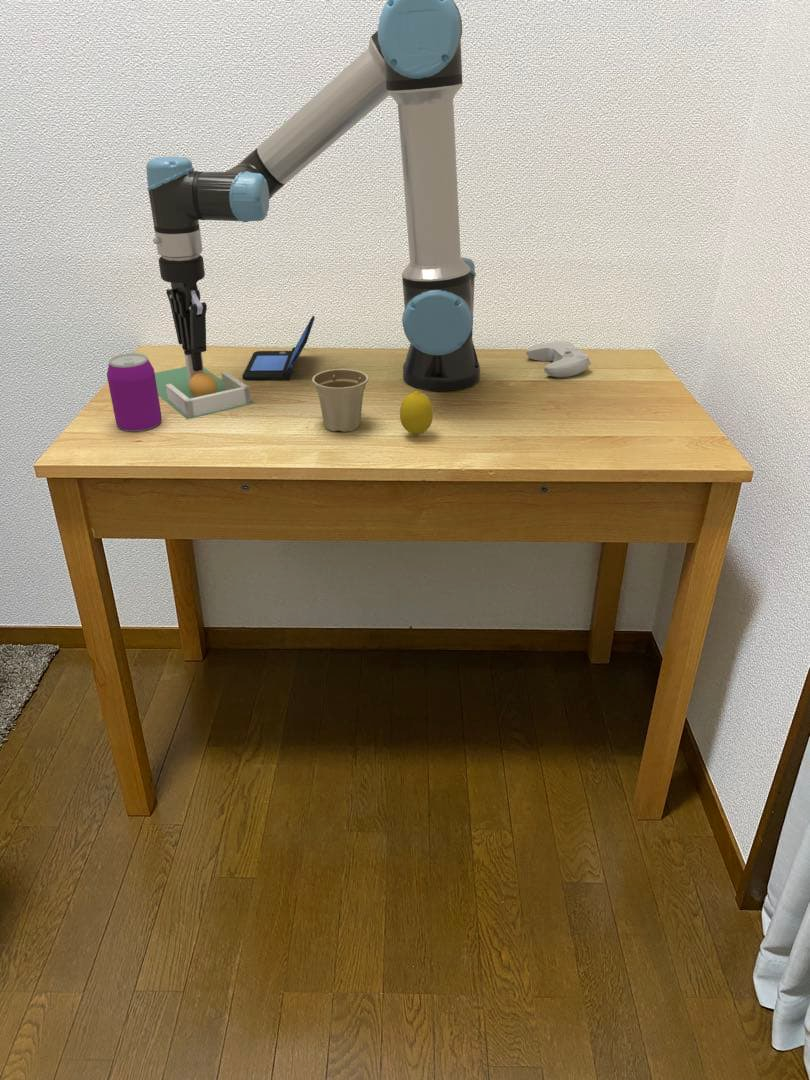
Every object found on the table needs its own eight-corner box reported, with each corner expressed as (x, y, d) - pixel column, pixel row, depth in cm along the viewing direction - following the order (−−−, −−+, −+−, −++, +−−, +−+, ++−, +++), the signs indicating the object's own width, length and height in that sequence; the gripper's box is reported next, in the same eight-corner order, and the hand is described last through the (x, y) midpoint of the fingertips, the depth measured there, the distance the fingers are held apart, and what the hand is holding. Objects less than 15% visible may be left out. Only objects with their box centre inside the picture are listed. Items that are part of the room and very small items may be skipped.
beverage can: (115, 420, 150) (102, 354, 144) (160, 414, 152) (149, 349, 146) (119, 437, 144) (105, 369, 137) (165, 430, 146) (154, 363, 140)
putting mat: (254, 405, 156) (254, 403, 155) (187, 421, 149) (187, 419, 149) (199, 365, 174) (198, 363, 174) (137, 378, 168) (136, 376, 167)
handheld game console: (254, 357, 179) (250, 313, 174) (318, 357, 179) (315, 313, 174) (241, 384, 166) (236, 337, 161) (309, 384, 166) (306, 337, 161)
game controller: (521, 344, 176) (566, 330, 177) (524, 363, 179) (568, 350, 179) (548, 367, 164) (596, 352, 165) (550, 387, 167) (598, 373, 168)
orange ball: (217, 369, 154) (208, 370, 159) (191, 374, 152) (182, 375, 156) (223, 396, 156) (214, 397, 160) (198, 402, 153) (189, 402, 157)
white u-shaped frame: (251, 403, 155) (249, 387, 154) (188, 417, 150) (186, 401, 148) (228, 386, 163) (226, 371, 161) (168, 400, 157) (165, 384, 155)
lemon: (433, 429, 146) (434, 385, 142) (431, 443, 141) (432, 398, 137) (401, 428, 146) (401, 384, 142) (398, 442, 142) (398, 396, 137)
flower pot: (333, 411, 153) (331, 365, 149) (379, 420, 149) (378, 373, 145) (304, 430, 146) (301, 382, 141) (351, 440, 142) (349, 391, 138)
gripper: (146, 251, 149) (165, 379, 161) (173, 266, 140) (191, 400, 152) (186, 245, 153) (202, 371, 165) (216, 260, 144) (230, 392, 156)
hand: (197, 385), depth 159 cm, fingers closed
